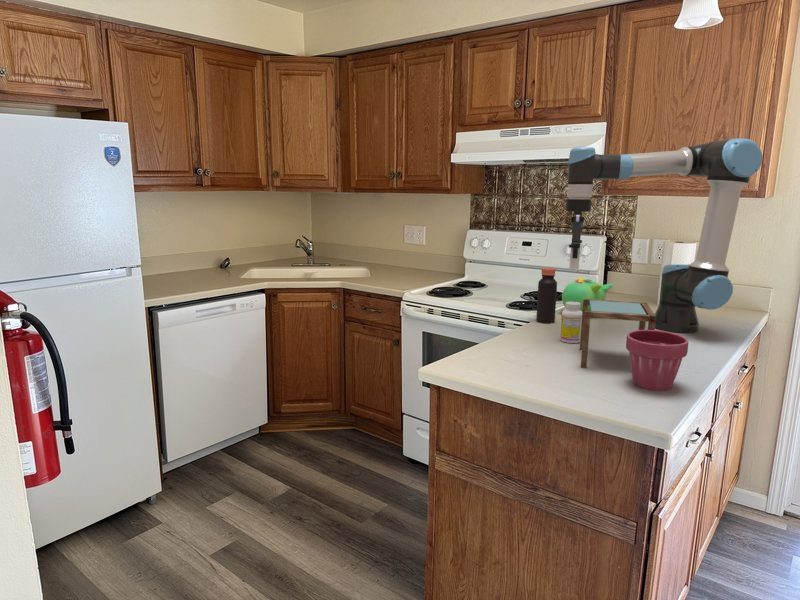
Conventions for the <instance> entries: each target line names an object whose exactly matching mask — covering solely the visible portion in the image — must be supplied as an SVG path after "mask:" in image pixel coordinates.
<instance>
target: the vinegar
mask: <svg viewBox="0 0 800 600" xmlns="http://www.w3.org/2000/svg"><path fill="white" fill-rule="evenodd" d="M555 276H556V268H553V267H542V268H541V279H540V280H539V281H537V282H538V283H537V286H538V287H537V297H536V298H537V301H536V302H537V303H536V320H535V321H536V322H538V323H540V322H541V324H553V323H555V322H556V307H557V305H556V304H557V294H558V293H557V291H558V282H557V280H556V279H555Z"/></svg>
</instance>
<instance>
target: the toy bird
mask: <svg viewBox="0 0 800 600" xmlns="http://www.w3.org/2000/svg"><path fill="white" fill-rule="evenodd" d="M576 278H577V279H576V280H573V281H571V282H569V283H568V284H567V285H566V286H565V288H564V289H563V291H562V294H561V301H562V304H563V306H564V308H566V306H565V304H566V302H579V303H581V307H580V311H583V299H593V300H606V292H608V291H610V290H611V289H612V288H613V287H614V284H613V283H606V284H599V283H598V282H596V281H593V280H591V279H586V278H584V277H581V276H577V277H576ZM588 311H591V309H590V305H588Z"/></svg>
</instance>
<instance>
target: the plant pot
mask: <svg viewBox="0 0 800 600" xmlns="http://www.w3.org/2000/svg"><path fill="white" fill-rule="evenodd" d="M625 348H626V350H627V351H628V352H629V360H630V368H631V376H632V382H633V384H634V385H635V386H637V387H638V388H642V389H645V390H649V391H657V392H658V391H668V390H671V388H673V385H674V383H675V380H676V377H677V375H678V372H679V369H680V367H681V364H682V361H683V359H684V358H685V357H686V356H687V355H688V352H689V351H688V350H689V340H688V338H687V337H685V336H683V335H680V334H678V333H676V332H671V331H665V330H659V329H655V330H648V329H645V330H639V329H638V330H632V331H629V332H627V334H626V341H625Z"/></svg>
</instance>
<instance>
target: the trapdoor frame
mask: <svg viewBox="0 0 800 600" xmlns="http://www.w3.org/2000/svg"><path fill="white" fill-rule="evenodd" d="M590 300H591V301H607V302H624V303H640V305H641V306H642V308H643V310H644V311H645V313H646V314H647V315H642V314H627V313H612V312H597V311H588V305H590ZM592 318H593V319H605V320H620V321H632V322H633V321H635V322H638V330H646V323H647V330H656V328H655V322H656V316H655V312H653V310H652V308H651V307H650V305H649V303H647V302H641V301H625V300H623V301H622V300H606V299H605V300H593V299H583V311H582V324H581V338H580V342H579V351H581V350H582V351H581V355H580V356H581V358H580V368H583V369H587V366H588V351H589V341H590V340H589V339H590V330H591V329H590V328H591V319H592Z"/></svg>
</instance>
